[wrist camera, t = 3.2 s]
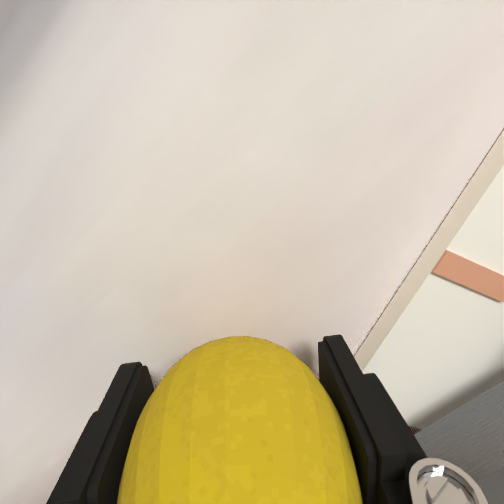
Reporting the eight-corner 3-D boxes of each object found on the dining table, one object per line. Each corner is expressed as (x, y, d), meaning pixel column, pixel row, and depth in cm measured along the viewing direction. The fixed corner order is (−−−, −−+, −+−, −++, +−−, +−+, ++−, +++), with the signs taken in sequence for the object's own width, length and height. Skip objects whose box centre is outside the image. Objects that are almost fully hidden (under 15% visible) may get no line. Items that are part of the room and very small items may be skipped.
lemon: (336, 323, 11) (557, 709, 4) (268, 424, 13) (321, 836, 5) (197, 266, 10) (91, 661, 2) (141, 386, 11) (-26, 846, 4)
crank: (638, 245, 9) (815, 290, 6) (671, 330, 11) (829, 398, 8) (242, 501, 12) (245, 606, 10) (306, 542, 14) (325, 645, 11)
